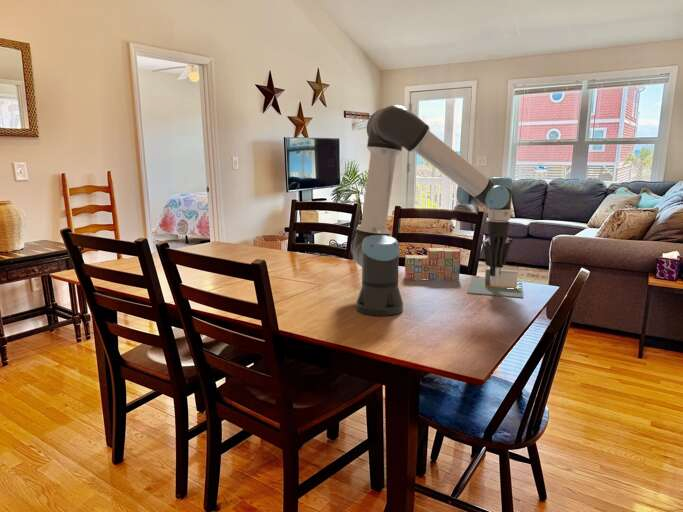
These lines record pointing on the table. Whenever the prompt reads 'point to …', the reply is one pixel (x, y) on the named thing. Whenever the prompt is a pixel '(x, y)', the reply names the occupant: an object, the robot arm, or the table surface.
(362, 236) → the robot arm
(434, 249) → the stack of blocks
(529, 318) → the table surface
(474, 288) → the card
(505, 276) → the folding fence panel
